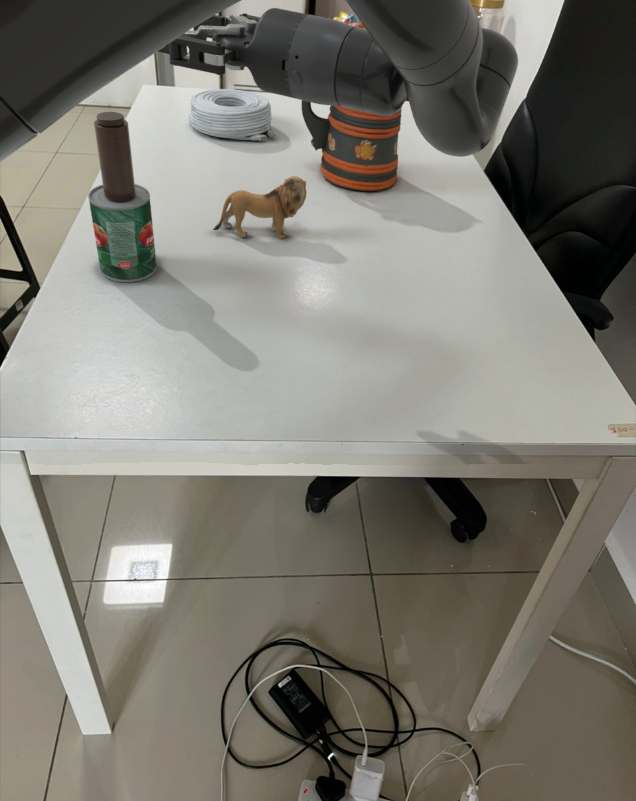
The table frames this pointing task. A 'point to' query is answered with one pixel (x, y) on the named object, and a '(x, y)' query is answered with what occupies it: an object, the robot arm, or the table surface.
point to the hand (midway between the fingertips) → (171, 29)
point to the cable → (231, 114)
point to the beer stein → (355, 146)
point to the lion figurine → (265, 205)
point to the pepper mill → (115, 156)
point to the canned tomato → (124, 235)
